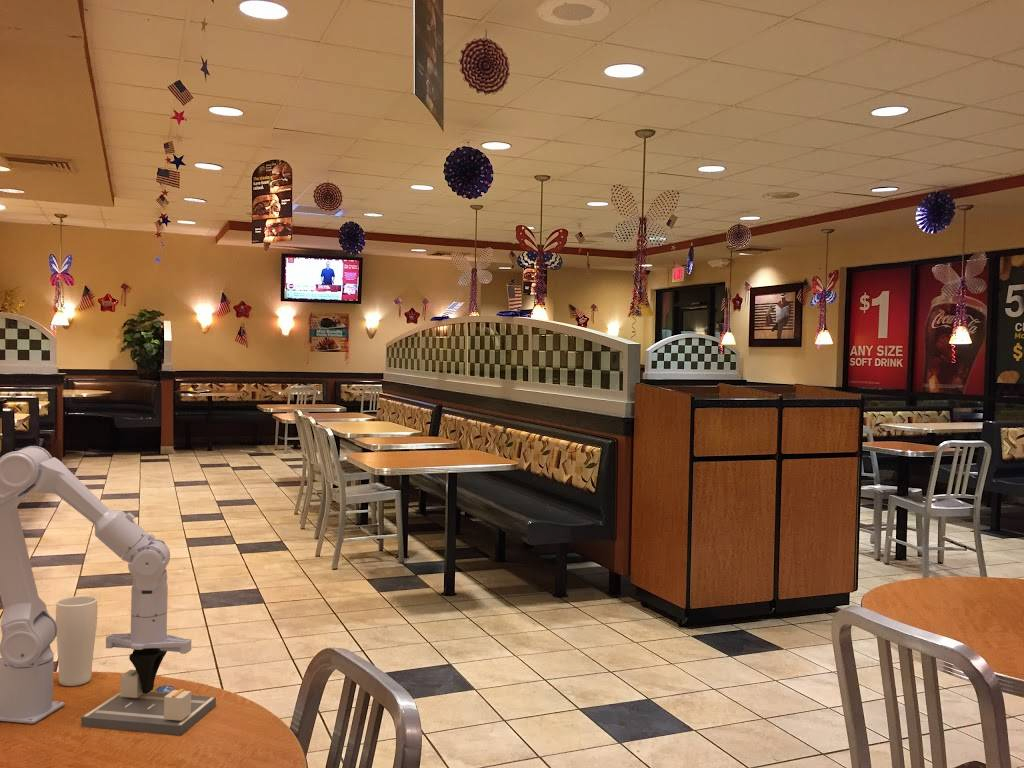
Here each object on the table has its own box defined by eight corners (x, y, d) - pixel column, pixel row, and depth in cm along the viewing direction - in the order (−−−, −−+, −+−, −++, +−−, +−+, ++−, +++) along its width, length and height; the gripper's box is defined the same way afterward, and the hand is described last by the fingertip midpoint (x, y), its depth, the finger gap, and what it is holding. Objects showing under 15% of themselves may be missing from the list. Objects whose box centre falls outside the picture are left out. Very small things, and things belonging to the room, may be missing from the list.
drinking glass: (78, 690, 152) (80, 607, 152) (45, 686, 153) (47, 603, 153) (104, 677, 159) (105, 597, 158) (72, 673, 160) (73, 594, 160)
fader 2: (163, 719, 137) (164, 695, 137) (173, 711, 140) (173, 688, 140) (181, 720, 137) (182, 696, 136) (190, 713, 140) (191, 689, 139)
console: (81, 726, 138) (81, 716, 138) (123, 697, 149) (123, 689, 149) (180, 735, 136) (180, 725, 135) (215, 705, 147) (216, 696, 147)
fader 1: (120, 696, 145) (120, 673, 145) (130, 690, 148) (130, 667, 148) (136, 698, 145) (137, 675, 145) (146, 691, 148) (147, 669, 148)
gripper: (95, 616, 143) (94, 697, 143) (177, 622, 141) (175, 703, 141) (119, 605, 150) (118, 681, 150) (198, 610, 148) (196, 687, 148)
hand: (147, 691), depth 146 cm, fingers closed
